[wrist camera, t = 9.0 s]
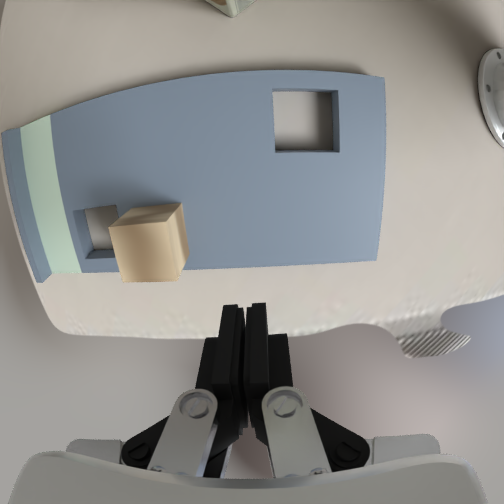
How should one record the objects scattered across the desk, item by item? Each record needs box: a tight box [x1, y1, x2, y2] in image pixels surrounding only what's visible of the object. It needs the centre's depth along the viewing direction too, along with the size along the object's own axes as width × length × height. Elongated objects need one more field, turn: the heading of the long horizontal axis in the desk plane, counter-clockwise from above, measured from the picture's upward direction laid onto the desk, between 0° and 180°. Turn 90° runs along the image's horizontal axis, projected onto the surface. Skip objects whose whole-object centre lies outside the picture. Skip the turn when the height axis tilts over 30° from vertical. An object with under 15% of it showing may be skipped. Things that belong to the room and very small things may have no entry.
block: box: [108, 203, 190, 282], centre depth 21 cm, size 4×4×4 cm
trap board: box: [1, 70, 386, 283], centre depth 21 cm, size 34×16×4 cm, turn 93°
